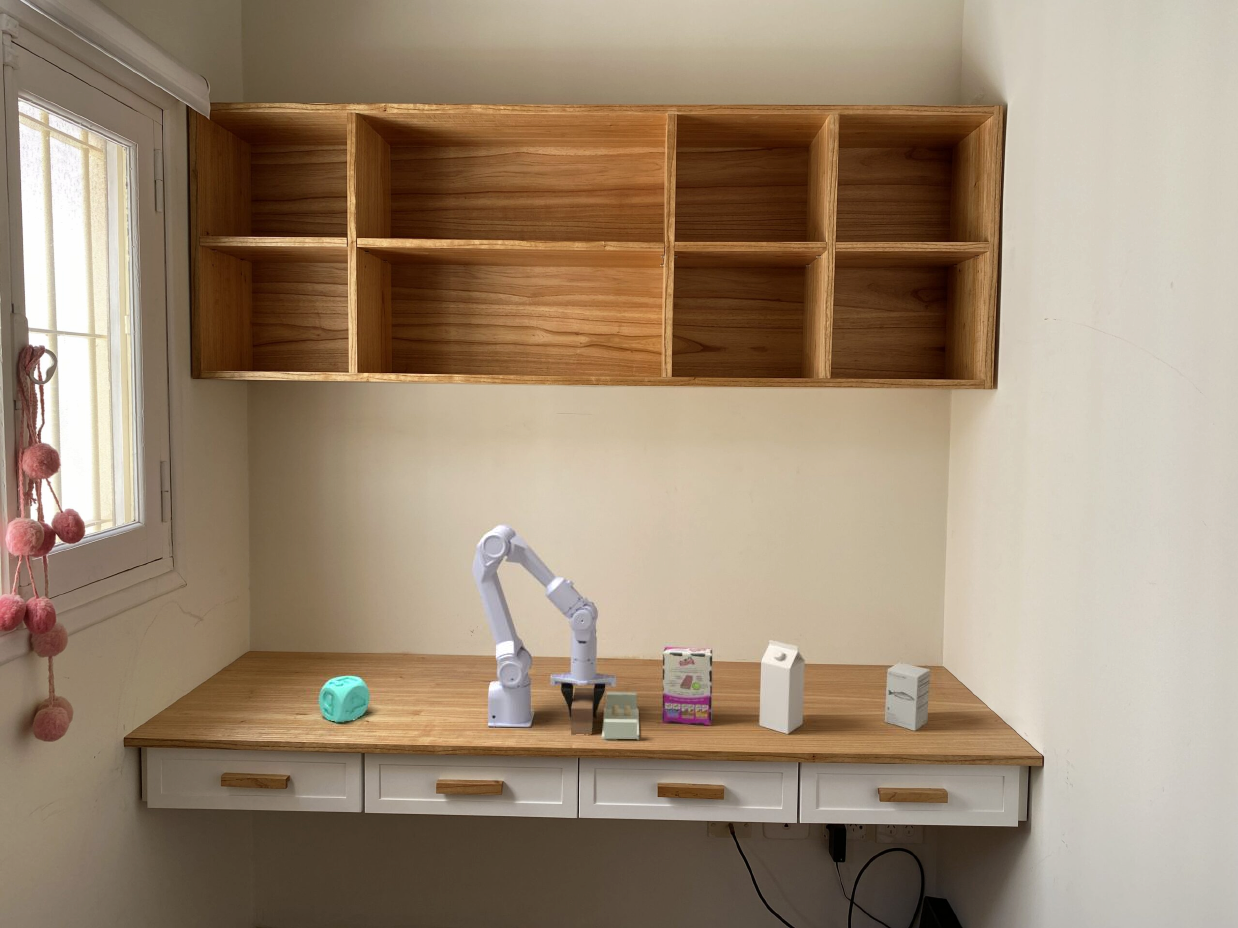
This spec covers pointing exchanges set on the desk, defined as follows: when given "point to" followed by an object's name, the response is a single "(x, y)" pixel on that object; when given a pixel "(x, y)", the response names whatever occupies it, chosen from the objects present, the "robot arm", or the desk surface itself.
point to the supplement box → (907, 696)
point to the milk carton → (782, 687)
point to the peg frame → (621, 716)
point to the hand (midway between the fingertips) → (583, 715)
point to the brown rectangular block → (582, 711)
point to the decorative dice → (344, 698)
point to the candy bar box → (687, 685)
